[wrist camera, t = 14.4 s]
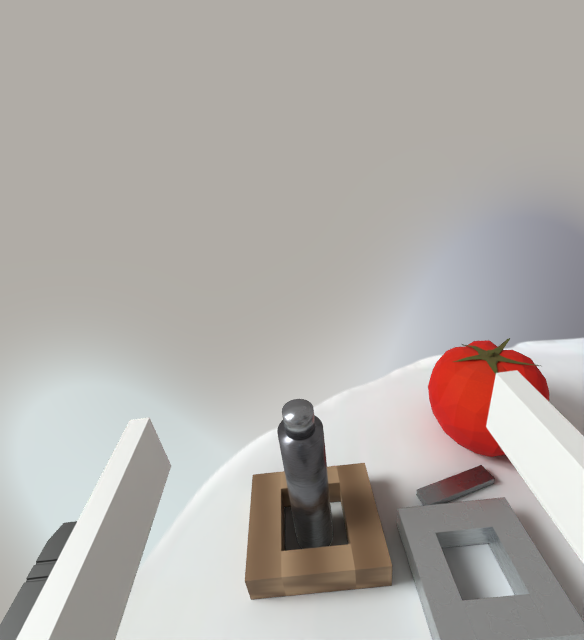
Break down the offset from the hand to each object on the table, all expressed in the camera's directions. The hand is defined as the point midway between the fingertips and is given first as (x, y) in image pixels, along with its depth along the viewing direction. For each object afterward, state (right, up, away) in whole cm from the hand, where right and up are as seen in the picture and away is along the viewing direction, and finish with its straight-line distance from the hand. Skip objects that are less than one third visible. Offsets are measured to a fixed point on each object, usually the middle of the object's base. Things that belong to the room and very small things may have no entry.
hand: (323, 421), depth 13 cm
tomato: (+22, -10, +29) cm, 37 cm away
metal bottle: (+1, -17, +20) cm, 26 cm away
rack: (+1, -17, +20) cm, 26 cm away
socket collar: (+14, -18, +16) cm, 28 cm away
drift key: (+16, -14, +23) cm, 31 cm away
